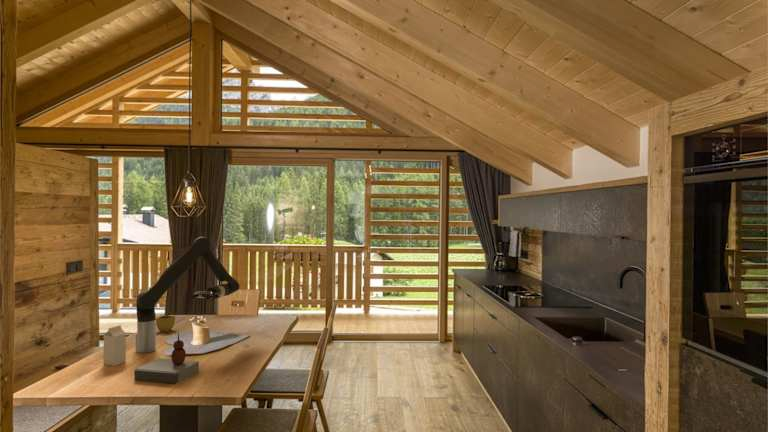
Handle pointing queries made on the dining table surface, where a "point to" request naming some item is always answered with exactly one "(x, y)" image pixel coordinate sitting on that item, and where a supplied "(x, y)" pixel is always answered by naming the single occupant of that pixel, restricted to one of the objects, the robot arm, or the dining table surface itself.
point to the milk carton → (115, 346)
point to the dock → (166, 371)
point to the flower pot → (165, 323)
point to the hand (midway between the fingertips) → (198, 297)
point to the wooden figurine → (178, 352)
